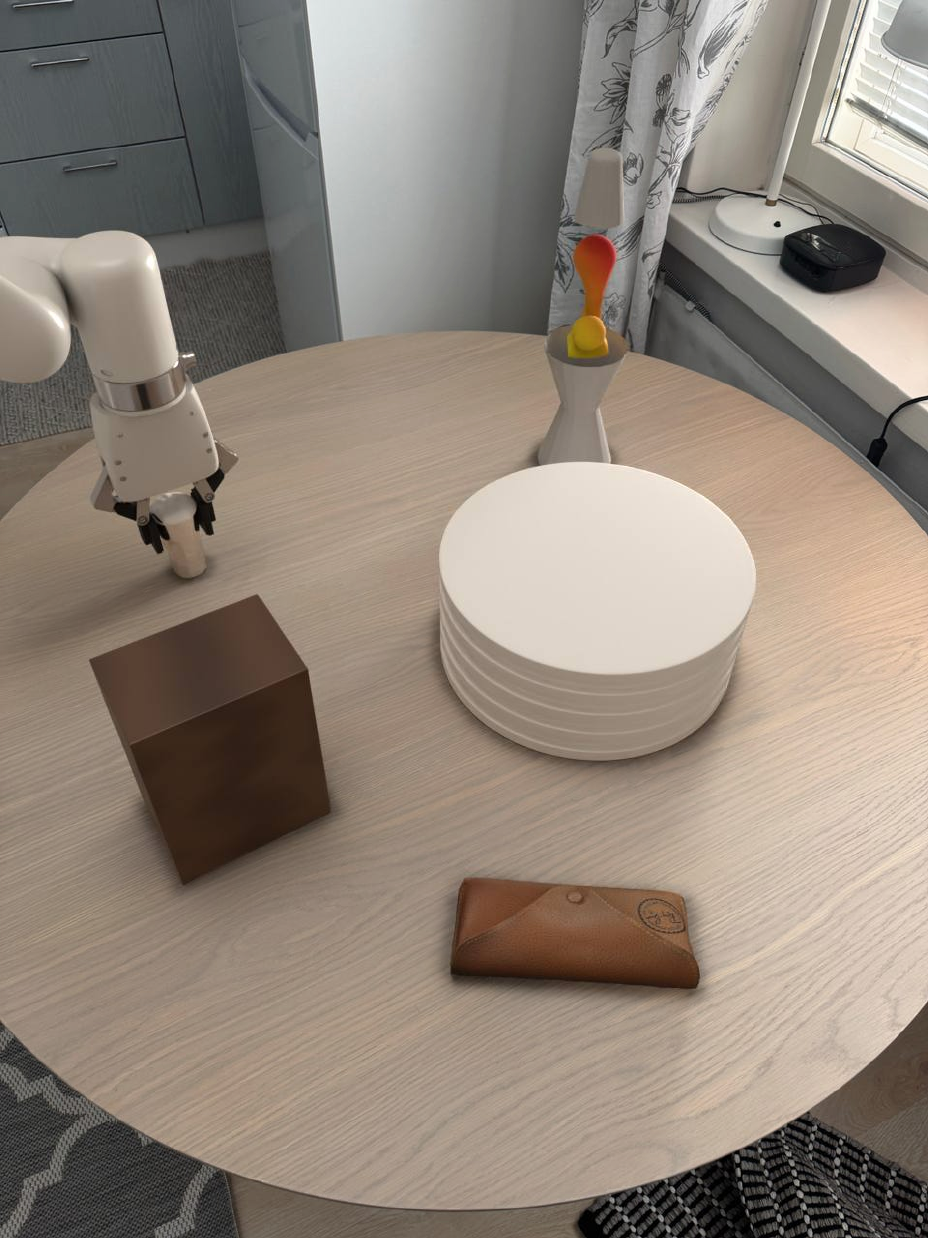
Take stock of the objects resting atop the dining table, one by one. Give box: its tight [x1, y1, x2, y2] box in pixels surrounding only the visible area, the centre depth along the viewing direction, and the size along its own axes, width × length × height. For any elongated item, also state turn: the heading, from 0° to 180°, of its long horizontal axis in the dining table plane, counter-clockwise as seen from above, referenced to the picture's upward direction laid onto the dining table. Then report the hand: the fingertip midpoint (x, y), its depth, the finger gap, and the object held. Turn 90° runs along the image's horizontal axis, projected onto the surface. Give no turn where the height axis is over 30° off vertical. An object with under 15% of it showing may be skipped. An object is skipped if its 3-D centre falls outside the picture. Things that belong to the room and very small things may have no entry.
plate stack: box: [438, 462, 757, 762], centre depth 93 cm, size 28×28×12 cm
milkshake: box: [149, 491, 207, 579], centre depth 100 cm, size 4×5×10 cm
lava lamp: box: [537, 147, 629, 466], centre depth 105 cm, size 9×9×35 cm
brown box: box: [88, 593, 332, 885], centre depth 77 cm, size 13×10×18 cm
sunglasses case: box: [449, 876, 701, 990], centre depth 74 cm, size 18×7×7 cm
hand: (180, 535), depth 100 cm, fingers closed on milkshake, 4 cm apart
